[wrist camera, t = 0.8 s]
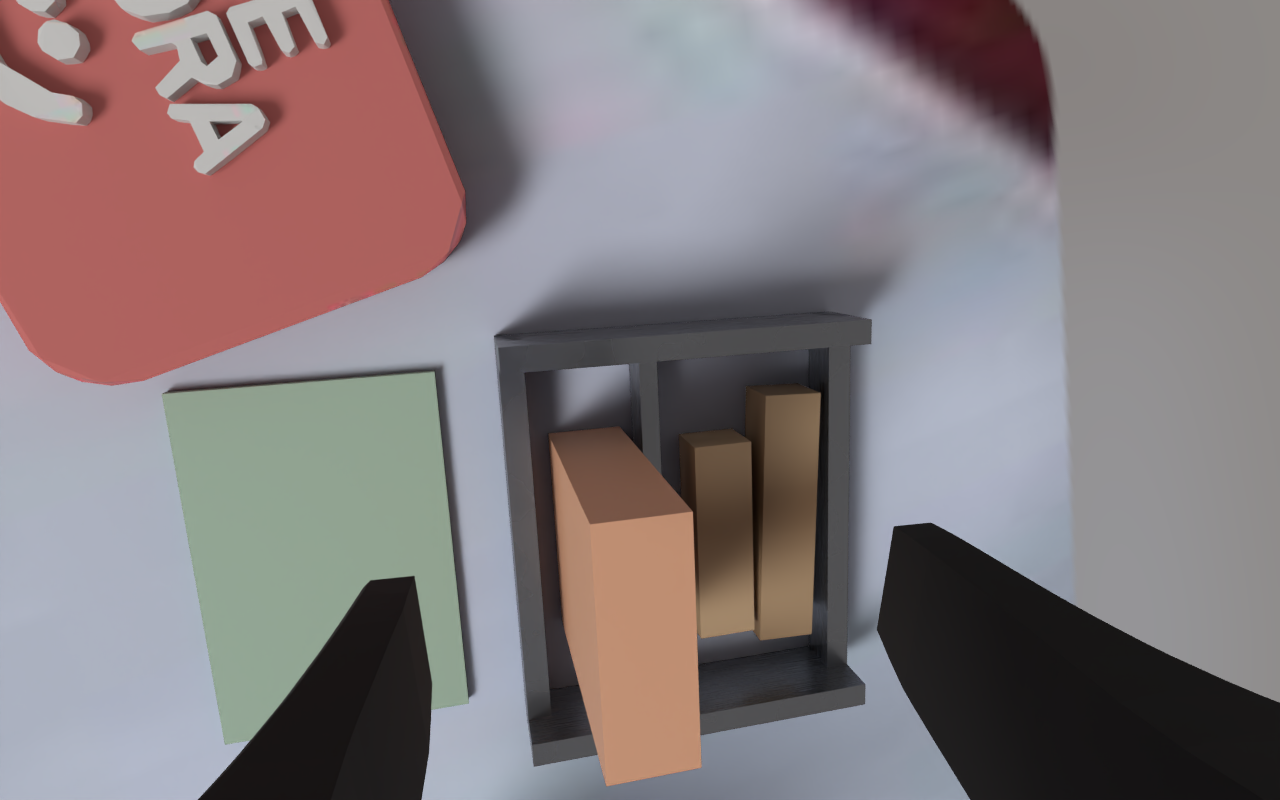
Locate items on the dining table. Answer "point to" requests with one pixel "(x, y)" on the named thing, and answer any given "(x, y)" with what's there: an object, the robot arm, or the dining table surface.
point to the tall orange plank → (627, 602)
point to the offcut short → (720, 528)
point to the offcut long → (783, 505)
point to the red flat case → (208, 174)
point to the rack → (725, 686)
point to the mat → (311, 525)
